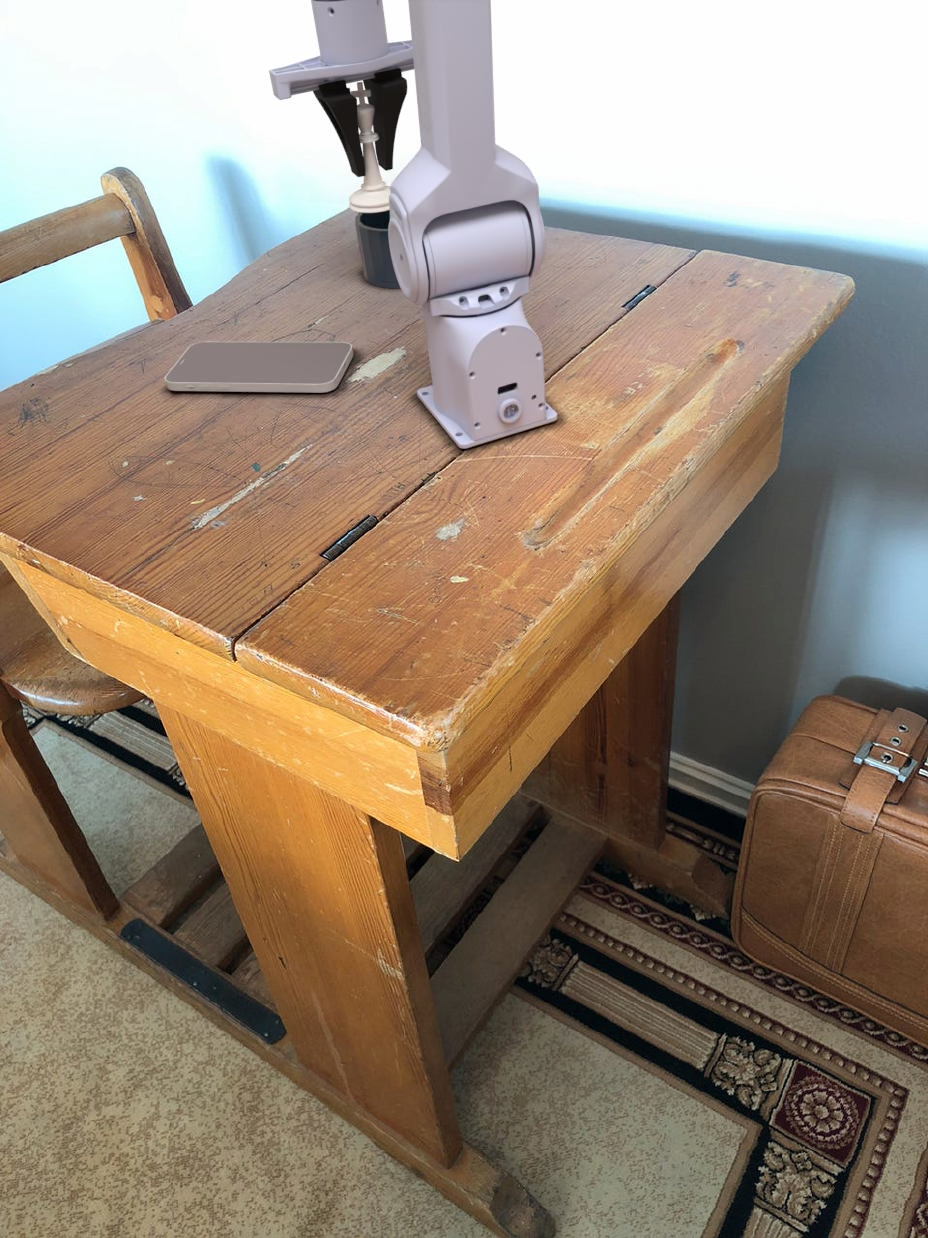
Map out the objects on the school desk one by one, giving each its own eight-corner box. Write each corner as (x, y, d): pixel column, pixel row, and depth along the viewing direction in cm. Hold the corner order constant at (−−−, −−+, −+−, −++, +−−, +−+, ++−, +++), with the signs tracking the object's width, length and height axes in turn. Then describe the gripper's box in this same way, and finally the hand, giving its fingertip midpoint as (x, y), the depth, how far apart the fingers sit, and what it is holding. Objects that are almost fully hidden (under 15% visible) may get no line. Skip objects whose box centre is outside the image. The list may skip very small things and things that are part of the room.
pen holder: (461, 274, 94) (455, 216, 90) (380, 295, 92) (371, 237, 89) (430, 246, 100) (423, 191, 96) (353, 266, 98) (343, 210, 94)
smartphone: (332, 384, 78) (159, 382, 81) (334, 395, 79) (163, 392, 81) (355, 341, 83) (192, 341, 86) (357, 351, 84) (195, 350, 87)
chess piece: (400, 211, 87) (385, 87, 80) (346, 214, 88) (327, 92, 81) (404, 192, 91) (390, 72, 84) (352, 196, 91) (334, 77, 85)
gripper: (411, -29, 83) (430, 141, 92) (246, 2, 79) (283, 175, 88) (442, -18, 78) (459, 161, 87) (268, 15, 74) (304, 198, 83)
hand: (372, 170), depth 87 cm, fingers closed on chess piece
